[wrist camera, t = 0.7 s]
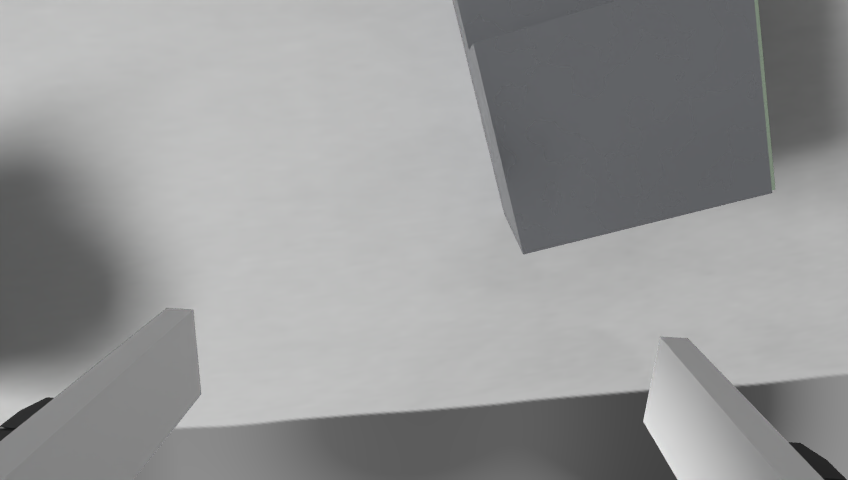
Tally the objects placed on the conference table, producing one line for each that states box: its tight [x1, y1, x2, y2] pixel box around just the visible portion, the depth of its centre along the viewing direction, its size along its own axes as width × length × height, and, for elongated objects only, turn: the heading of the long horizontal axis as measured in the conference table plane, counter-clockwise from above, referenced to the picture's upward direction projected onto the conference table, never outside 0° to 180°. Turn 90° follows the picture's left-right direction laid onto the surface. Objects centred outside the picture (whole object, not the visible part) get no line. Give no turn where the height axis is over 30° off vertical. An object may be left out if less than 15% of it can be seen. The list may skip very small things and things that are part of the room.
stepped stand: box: [453, 0, 775, 254], centre depth 31 cm, size 24×16×10 cm
